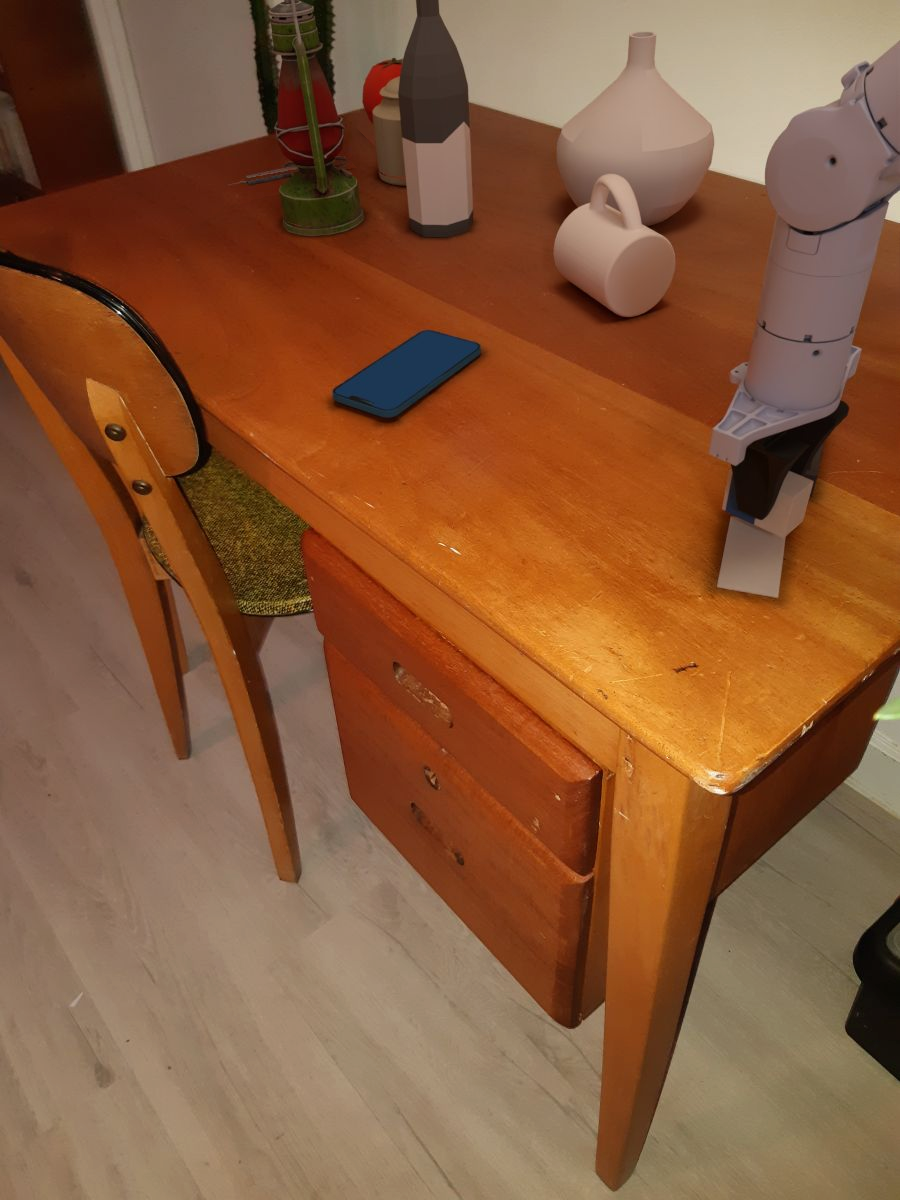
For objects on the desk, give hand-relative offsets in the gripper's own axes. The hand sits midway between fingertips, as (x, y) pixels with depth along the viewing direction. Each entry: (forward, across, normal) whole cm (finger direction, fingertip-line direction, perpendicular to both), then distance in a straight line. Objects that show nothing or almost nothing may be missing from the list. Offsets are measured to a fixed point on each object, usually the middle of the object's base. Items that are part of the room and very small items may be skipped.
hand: (764, 501), depth 62 cm
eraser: (+1, 0, 0) cm, 1 cm away
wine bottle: (+3, -26, -61) cm, 67 cm away
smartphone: (+3, +2, -36) cm, 36 cm away
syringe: (+3, -25, -92) cm, 96 cm away
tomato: (+3, -50, -96) cm, 109 cm away
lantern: (+3, -18, -75) cm, 78 cm away
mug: (+3, -23, -32) cm, 40 cm away
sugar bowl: (+3, -38, -80) cm, 89 cm away
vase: (+3, -43, -45) cm, 63 cm away
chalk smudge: (+3, +3, +1) cm, 4 cm away
